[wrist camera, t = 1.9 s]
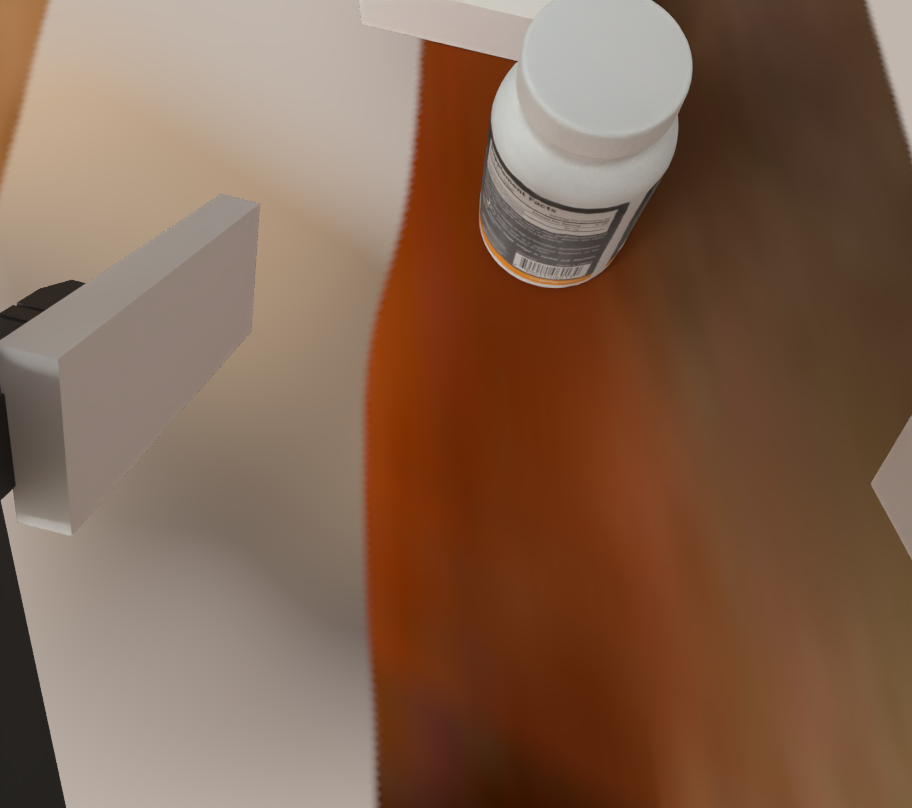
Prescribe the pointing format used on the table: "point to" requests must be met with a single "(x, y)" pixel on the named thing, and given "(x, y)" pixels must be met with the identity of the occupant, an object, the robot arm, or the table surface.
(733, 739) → the table surface
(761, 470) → the table surface
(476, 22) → the pusher lane
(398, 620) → the table surface
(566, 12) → the pill bottle
